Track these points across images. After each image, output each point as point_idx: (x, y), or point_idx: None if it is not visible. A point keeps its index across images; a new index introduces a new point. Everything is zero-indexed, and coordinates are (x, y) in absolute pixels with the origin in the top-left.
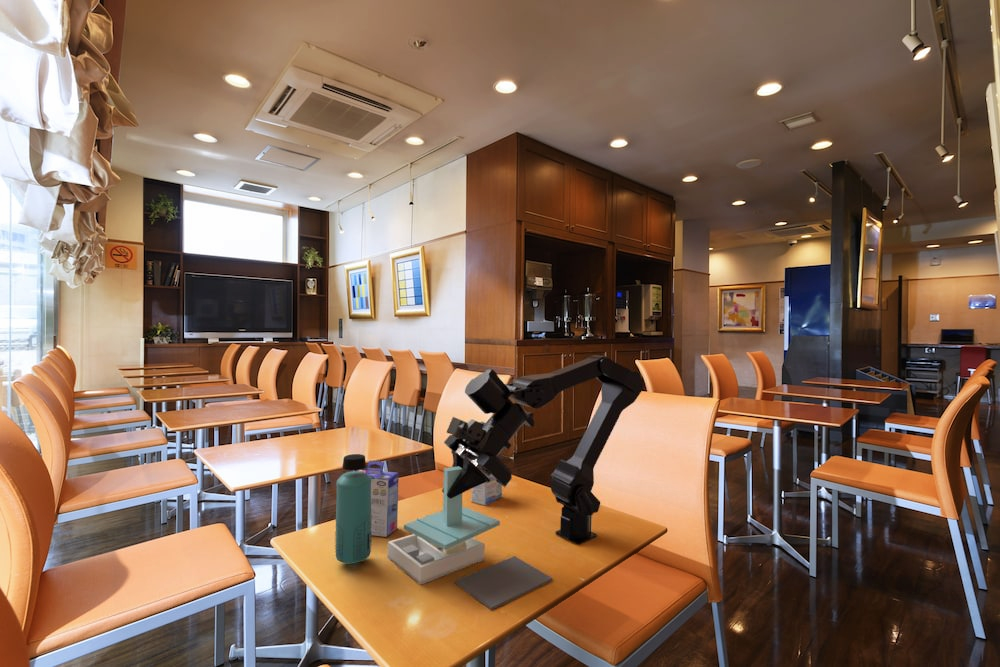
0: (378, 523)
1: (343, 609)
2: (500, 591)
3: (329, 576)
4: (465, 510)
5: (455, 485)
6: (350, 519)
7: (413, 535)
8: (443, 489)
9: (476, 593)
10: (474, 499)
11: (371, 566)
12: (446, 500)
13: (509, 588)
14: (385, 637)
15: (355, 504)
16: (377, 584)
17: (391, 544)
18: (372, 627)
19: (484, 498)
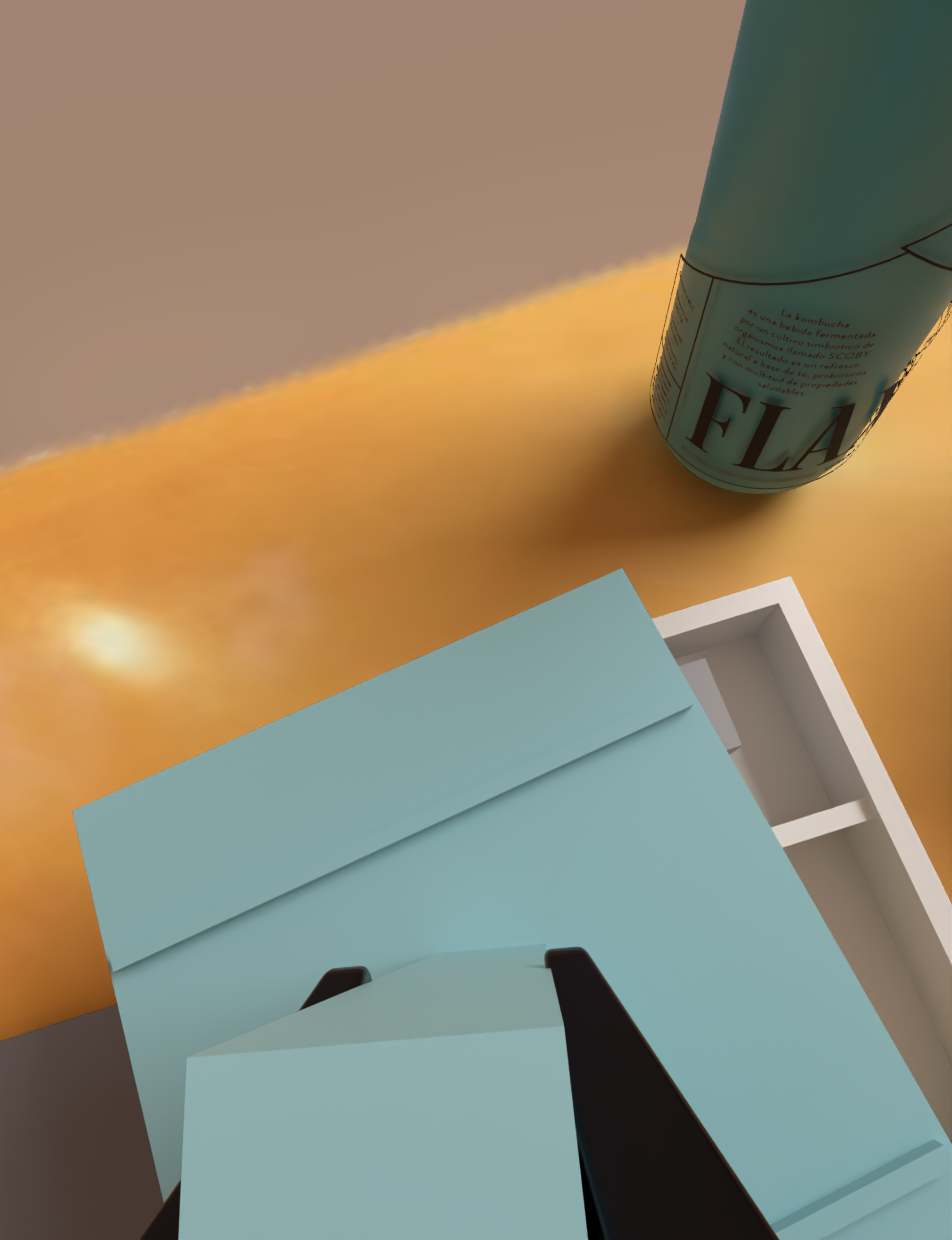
0: None
1: (327, 380)
2: (46, 1209)
3: (634, 334)
4: None
5: (177, 1186)
6: (709, 162)
7: (861, 772)
8: (552, 968)
9: (107, 1028)
10: None
11: (676, 520)
12: (416, 970)
13: None
14: (58, 510)
15: (737, 66)
16: (473, 528)
17: (740, 591)
18: (147, 472)
19: None
